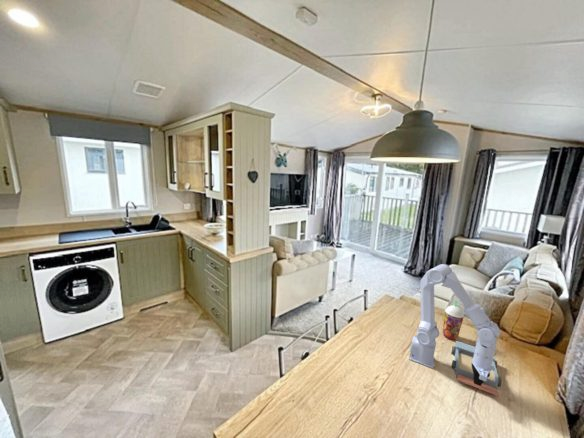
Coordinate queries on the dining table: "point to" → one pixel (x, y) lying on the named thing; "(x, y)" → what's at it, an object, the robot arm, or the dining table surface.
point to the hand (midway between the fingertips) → (477, 384)
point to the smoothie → (452, 321)
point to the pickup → (464, 364)
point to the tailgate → (482, 387)
